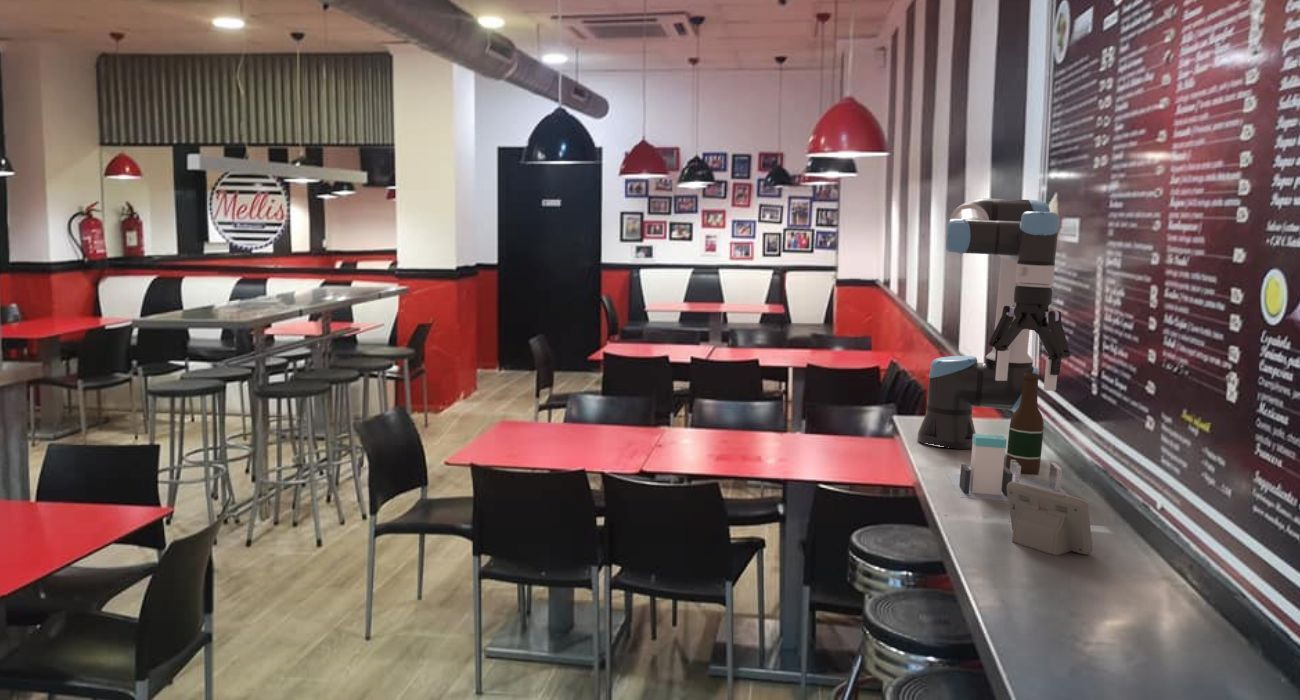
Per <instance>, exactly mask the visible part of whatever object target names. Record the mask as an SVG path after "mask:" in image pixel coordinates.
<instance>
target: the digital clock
mask: <svg viewBox="0 0 1300 700" xmlns="http://www.w3.org/2000/svg"><path fill="white" fill-rule="evenodd" d="M1007 496H1008V501H1007V502H1008V509H1009V515H1010V516H1009V517H1010V523H1011V524H1010V525H1011V529H1012V535H1011V542H1012V543H1015V544H1018V545H1021V546H1024V547H1027V548H1030V549H1033V550H1037V551H1040V552H1042V553H1045V554H1046V553H1047V554H1050V555H1052V556H1059V555H1062V554H1066V553H1070V552H1074V553H1076V554H1082V555H1089V554H1091V553H1092V552H1093V550H1094V549H1093V539H1092V529H1091V521H1090V520H1091V519H1090V511H1089V506H1088V505H1089V504H1088V502H1087V500H1085V499H1083V498H1080V497H1076V496H1072V495H1069V494H1068V495H1065V494H1062V493H1058V492H1054V491H1050V490H1046V489H1042V488H1039V487H1035V486H1031V485H1027V484H1023V483H1019V482H1009V483H1008V484H1007Z"/></svg>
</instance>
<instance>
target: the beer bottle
mask: <svg viewBox="0 0 1300 700" xmlns="http://www.w3.org/2000/svg"><path fill="white" fill-rule="evenodd" d="M1023 378H1024V383H1023V389H1022V396H1021V401H1020V405H1019V408H1018V409H1017V410H1014V412H1013V414H1012V416H1011V418H1010V423H1009V428H1008V438H1007V439H1008V440H1007V447H1006V448H1007V449H1006V460H1005V467H1007V468H1008V469H1009V470H1010V461H1011V460H1016V461H1017V462H1018V464H1019V465H1020V466H1021V473H1020V475H1032V476H1033V475H1034V476H1035V475H1036V476H1038V475H1039V474H1040V469H1041V468H1040V467H1041V460H1042V448H1043V439H1044V424H1045V423H1044V422H1045V421H1044V418H1043V414H1042V413H1041V411H1040V410H1039V406H1038V405H1039V403H1038V396H1039V395H1038V391H1039V380H1040V374H1039V373H1038V374H1035V373H1025V374H1024V376H1023Z"/></svg>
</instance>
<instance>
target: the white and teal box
mask: <svg viewBox="0 0 1300 700" xmlns="http://www.w3.org/2000/svg"><path fill="white" fill-rule="evenodd" d="M972 442H973V444H972V448H971V456H970V468H969V469H970V470H971V474H970V485H969V489H970V491H971V492H972V493H981V494H994V495H1001V488H1002V478H1003V467H1005V465H1004V464H1005V453H1006V448H1007V442H1008V440H1007V439H1006V437H1004V436H1003V435H997V434H996V435H994V434H983V433H981V434H980V433H976V434H973V438H972Z"/></svg>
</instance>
